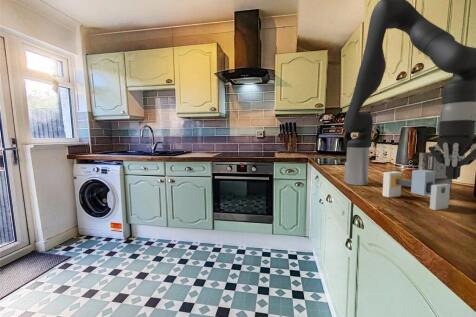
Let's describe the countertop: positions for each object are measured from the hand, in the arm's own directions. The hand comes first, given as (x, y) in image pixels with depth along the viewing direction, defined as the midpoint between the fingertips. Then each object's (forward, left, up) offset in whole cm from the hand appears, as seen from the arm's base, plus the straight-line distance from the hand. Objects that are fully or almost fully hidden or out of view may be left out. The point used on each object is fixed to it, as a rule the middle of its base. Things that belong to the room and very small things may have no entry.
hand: (452, 178), depth 66 cm
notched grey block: (-8, 0, -6) cm, 10 cm away
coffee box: (-14, +15, -10) cm, 23 cm away
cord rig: (-11, 0, -10) cm, 15 cm away
